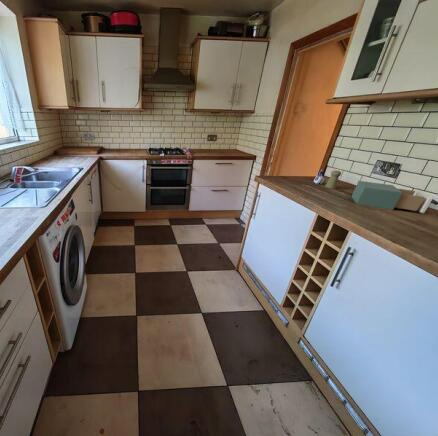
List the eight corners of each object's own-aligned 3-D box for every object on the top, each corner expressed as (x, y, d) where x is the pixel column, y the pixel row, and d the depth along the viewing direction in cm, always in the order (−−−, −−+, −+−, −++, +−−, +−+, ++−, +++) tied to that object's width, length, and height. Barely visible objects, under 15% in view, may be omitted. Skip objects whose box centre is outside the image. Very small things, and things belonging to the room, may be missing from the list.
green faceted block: (384, 201, 128) (392, 185, 123) (392, 210, 116) (402, 192, 112) (351, 196, 134) (358, 180, 130) (356, 204, 123) (364, 187, 119)
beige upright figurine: (337, 189, 147) (344, 172, 142) (326, 187, 149) (332, 171, 144) (334, 186, 152) (341, 170, 147) (324, 185, 154) (330, 169, 149)
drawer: (424, 206, 120) (432, 192, 116) (436, 215, 109) (446, 200, 106) (379, 199, 128) (386, 186, 124) (387, 207, 117) (394, 192, 114)
